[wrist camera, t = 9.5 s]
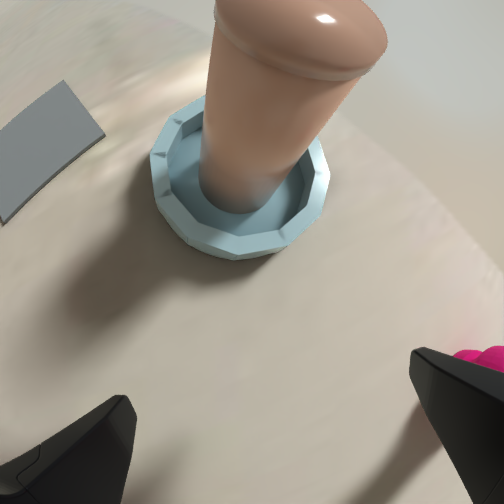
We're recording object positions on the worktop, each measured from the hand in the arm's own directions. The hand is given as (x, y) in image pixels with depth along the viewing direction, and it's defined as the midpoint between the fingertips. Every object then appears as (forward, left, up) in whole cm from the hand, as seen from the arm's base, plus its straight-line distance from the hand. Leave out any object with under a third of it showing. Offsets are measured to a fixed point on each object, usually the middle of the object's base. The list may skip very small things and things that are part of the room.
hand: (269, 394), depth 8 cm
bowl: (+8, +8, -11) cm, 16 cm away
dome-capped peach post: (+8, +8, -10) cm, 15 cm away
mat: (-2, +21, -11) cm, 24 cm away
